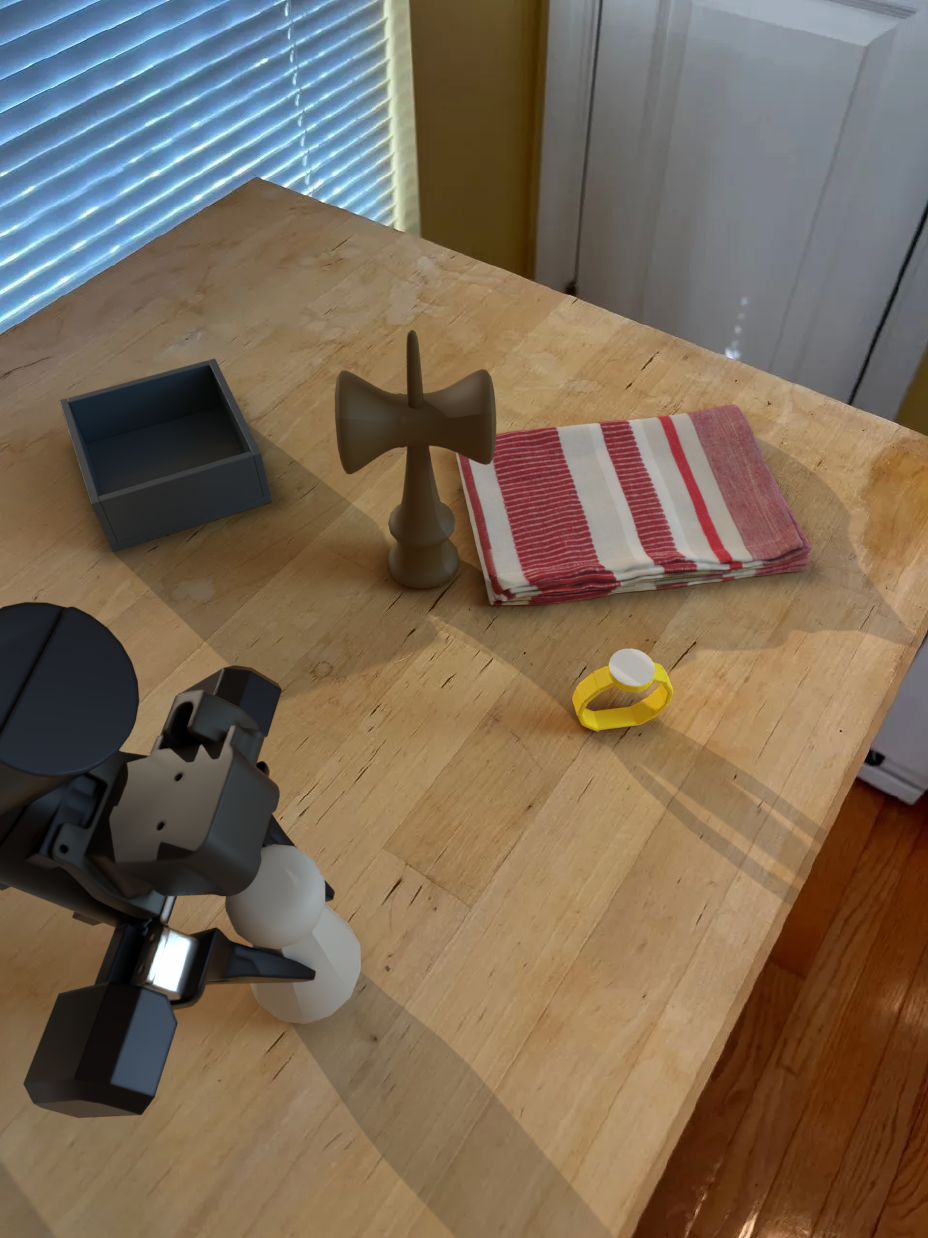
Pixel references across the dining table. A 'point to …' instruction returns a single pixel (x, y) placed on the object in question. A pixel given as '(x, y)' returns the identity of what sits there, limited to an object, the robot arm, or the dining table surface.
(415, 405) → the kendama
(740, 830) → the dining table surface
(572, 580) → the dish towel
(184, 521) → the bin
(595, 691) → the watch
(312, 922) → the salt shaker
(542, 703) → the dining table surface
